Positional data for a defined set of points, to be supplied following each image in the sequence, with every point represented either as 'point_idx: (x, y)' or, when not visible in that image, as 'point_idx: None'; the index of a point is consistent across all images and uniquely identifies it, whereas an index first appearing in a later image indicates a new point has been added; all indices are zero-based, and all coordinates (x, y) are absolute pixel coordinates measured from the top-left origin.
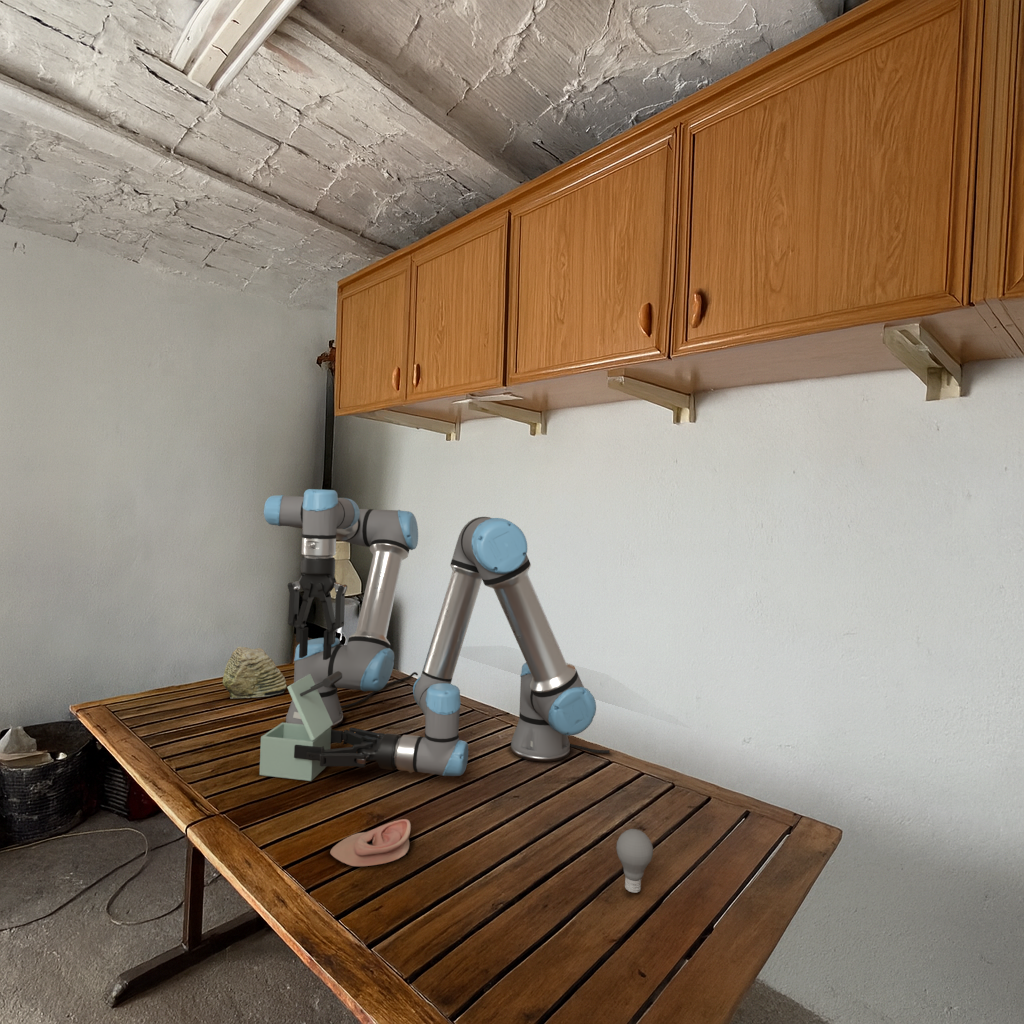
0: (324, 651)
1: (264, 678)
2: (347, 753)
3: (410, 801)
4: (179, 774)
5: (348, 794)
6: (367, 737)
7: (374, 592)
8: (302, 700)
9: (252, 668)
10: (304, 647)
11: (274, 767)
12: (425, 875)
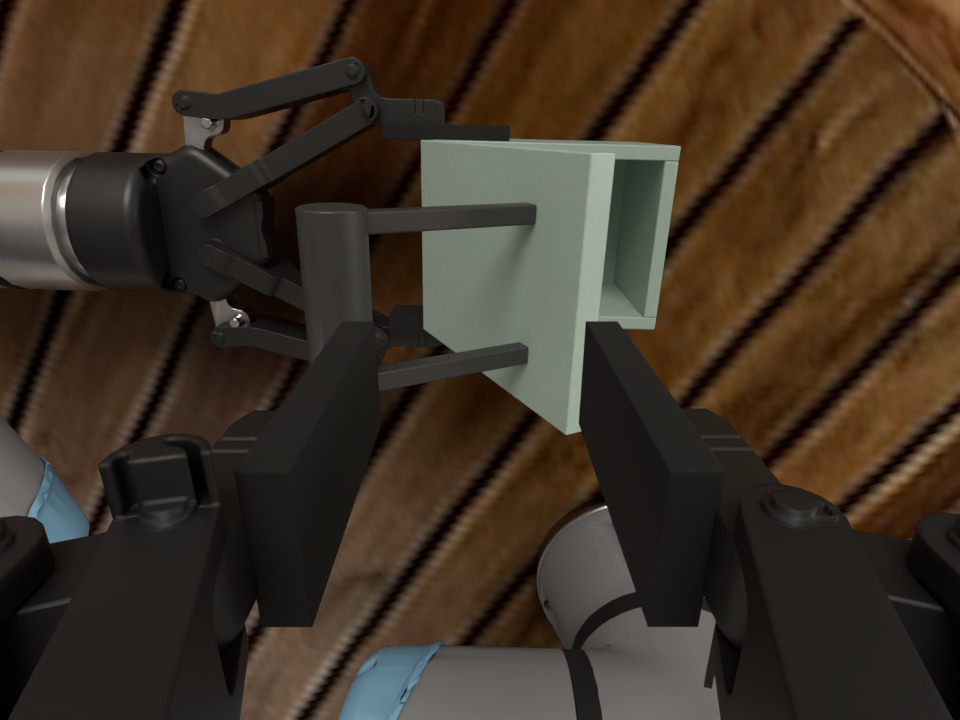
0: (343, 347)
1: None
2: (257, 105)
3: (45, 60)
4: (920, 83)
5: (271, 64)
6: (249, 274)
7: None
8: (513, 202)
9: None
10: (600, 400)
11: (586, 141)
12: None
